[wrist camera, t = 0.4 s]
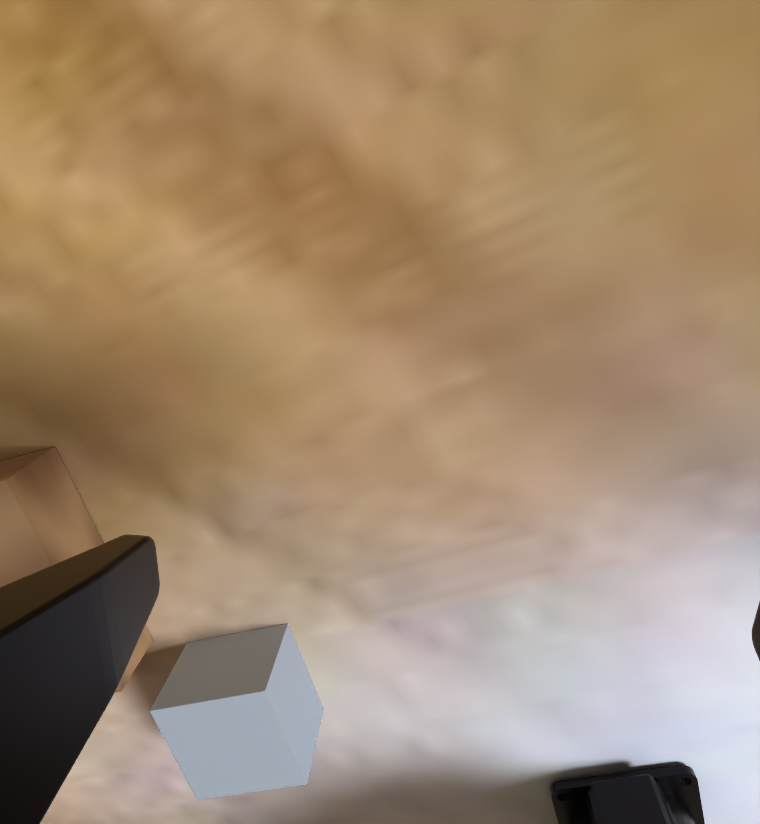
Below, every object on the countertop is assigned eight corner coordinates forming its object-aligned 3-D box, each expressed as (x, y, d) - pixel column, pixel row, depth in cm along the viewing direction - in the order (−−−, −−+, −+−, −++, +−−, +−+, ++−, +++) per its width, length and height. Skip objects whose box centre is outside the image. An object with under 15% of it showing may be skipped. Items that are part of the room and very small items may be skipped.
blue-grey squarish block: (324, 705, 28) (307, 784, 24) (227, 721, 29) (197, 800, 25) (288, 621, 27) (265, 691, 23) (188, 640, 27) (149, 711, 24)
